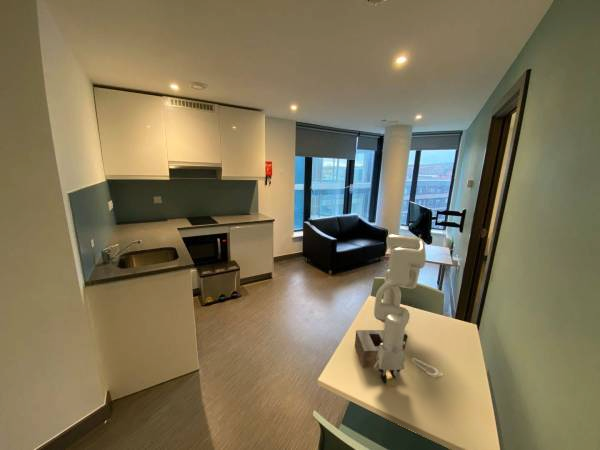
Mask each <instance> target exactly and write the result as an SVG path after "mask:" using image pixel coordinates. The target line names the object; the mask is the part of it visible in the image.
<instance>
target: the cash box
mask: <svg viewBox="0 0 600 450" xmlns="http://www.w3.org/2000/svg"><path fill="white" fill-rule="evenodd" d="M383 335H384V329H356V330H355V340H354V347H355V350H356V352H357V355H358V359H359V361H360V365H361V366H362V368H363V369H366V368H367V369H369V368H370V369H371V368H374V365H375V363H376V356H377V352H378V348H379V346H380V343H383ZM374 369H375V368H374Z"/></svg>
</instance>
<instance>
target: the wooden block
mask: <svg viewBox="0 0 600 450" xmlns="http://www.w3.org/2000/svg"><path fill="white" fill-rule="evenodd" d="M386 376H387V377H386V382H385V386H386V388H393V387H394V385H395V380H394V378H393V377H392V375H391V373H390V370H386Z"/></svg>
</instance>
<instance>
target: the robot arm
mask: <svg viewBox="0 0 600 450" xmlns="http://www.w3.org/2000/svg"><path fill="white" fill-rule="evenodd" d="M425 245H426V244H425V241H424V240H423V239H422V238H420V237H414V236H407V235H399V234H392V233H391V234H388V235H387V236H386V246H387V248H388V249H389V251H390V252H389V258H388V267H389V268H388V269H386V270H385V272H384V283H383V284H382V285H381V286H380V287H379V288H378V290H377V291H376V294H375V301H374V306H373V307H374V308H373V315H374V318H375V319H376V320H377V321H381V322H384V327H383V330H384V335H383V343H380V346H379V348H378V352H377V356H376V363H375V365H374V370H376V371H378V372H380V379H381V381H382V382H383V384H385V382H386V377H387V376H386V370H390V373H391V375H392V377H393V378H394V380H395V378H396V376H397V374H398V373H400V372H401V371H403V370H405V365H404V361H405V357H404V356H405V354H404V353H405V352H404V350H403V345H405V346H406V344H407V343H405V341H403V338H404V334H405V330H406V326H407V324H408V323H409V322H410V317H411V316H410V312H409V310H408V309H407V308H406V307H403V306H400V305H401V298H402V292H401V289H400V288H404V289H405V288H406V289H411V290H412V289H415V288H416V287H417V284H418V280H419V276H420V270H421V269H423V268H424V266H425V263H426V259H427V257H426V256H427V254H426V246H425Z"/></svg>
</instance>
